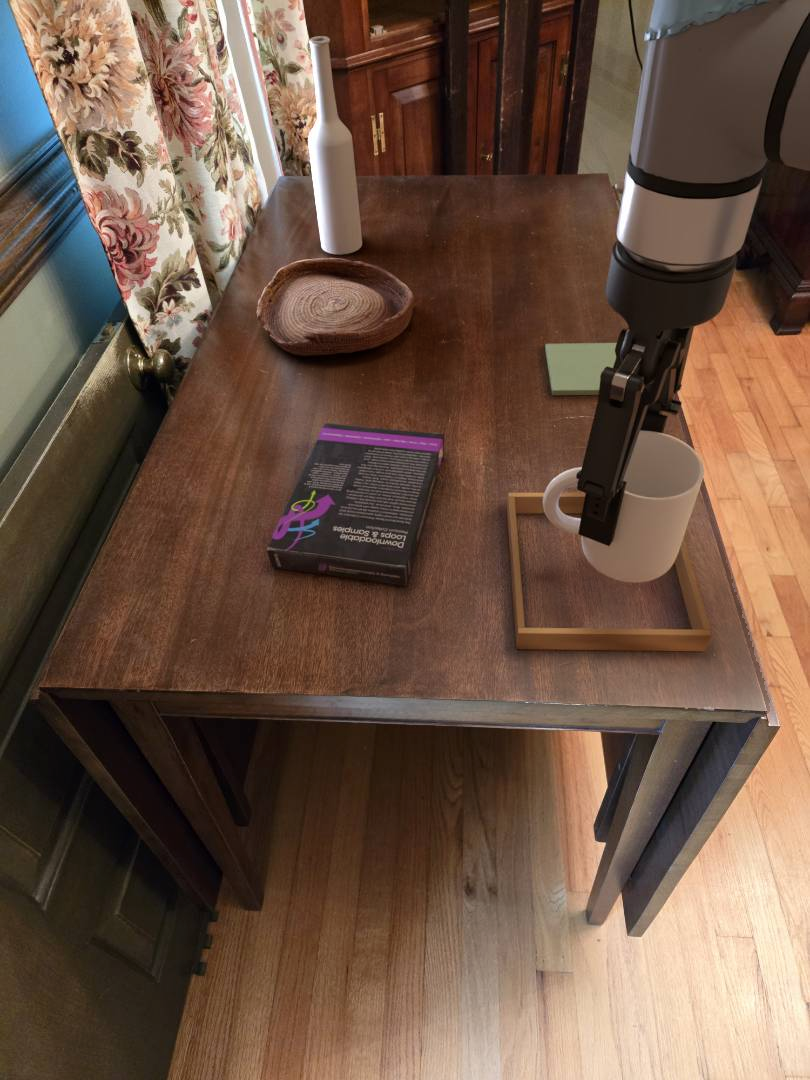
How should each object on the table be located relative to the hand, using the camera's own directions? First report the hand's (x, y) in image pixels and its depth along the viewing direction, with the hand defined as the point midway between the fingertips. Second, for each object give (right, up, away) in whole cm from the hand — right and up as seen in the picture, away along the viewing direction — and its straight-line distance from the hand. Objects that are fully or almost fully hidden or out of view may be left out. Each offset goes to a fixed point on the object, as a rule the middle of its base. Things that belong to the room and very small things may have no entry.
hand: (616, 503), depth 62 cm
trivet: (+5, +18, +29) cm, 35 cm away
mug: (0, -4, +3) cm, 5 cm away
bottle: (-28, +44, +55) cm, 76 cm away
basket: (-27, +27, +39) cm, 55 cm away
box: (-22, 0, +15) cm, 27 cm away
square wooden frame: (0, -6, +7) cm, 10 cm away
